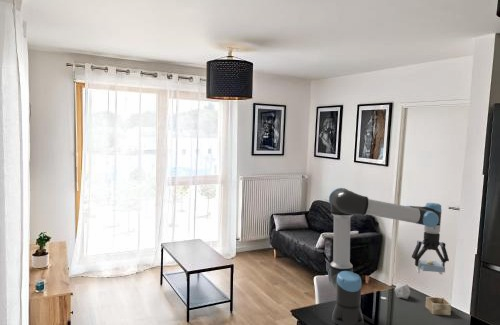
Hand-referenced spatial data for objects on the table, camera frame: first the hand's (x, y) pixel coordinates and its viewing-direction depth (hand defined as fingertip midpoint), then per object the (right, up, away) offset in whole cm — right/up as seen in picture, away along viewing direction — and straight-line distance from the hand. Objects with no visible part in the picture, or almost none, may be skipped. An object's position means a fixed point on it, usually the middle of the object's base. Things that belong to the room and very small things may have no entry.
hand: (429, 272), depth 193 cm
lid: (0, +3, 0) cm, 3 cm away
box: (+5, -21, 0) cm, 22 cm away
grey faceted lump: (-7, -20, +18) cm, 28 cm away
